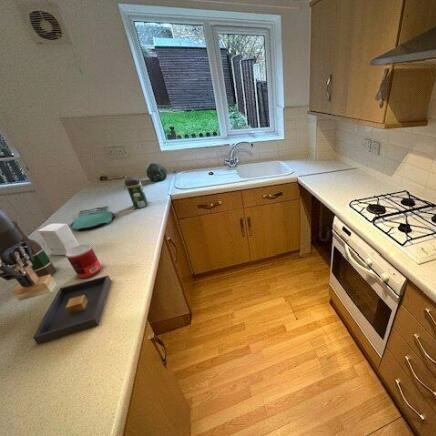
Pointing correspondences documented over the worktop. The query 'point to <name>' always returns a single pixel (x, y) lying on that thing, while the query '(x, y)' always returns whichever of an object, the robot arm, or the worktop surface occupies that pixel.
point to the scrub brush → (34, 285)
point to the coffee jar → (136, 192)
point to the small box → (58, 238)
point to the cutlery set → (92, 218)
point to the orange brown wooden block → (77, 304)
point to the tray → (71, 323)
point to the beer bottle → (37, 256)
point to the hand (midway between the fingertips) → (30, 281)
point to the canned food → (84, 261)
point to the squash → (156, 172)
